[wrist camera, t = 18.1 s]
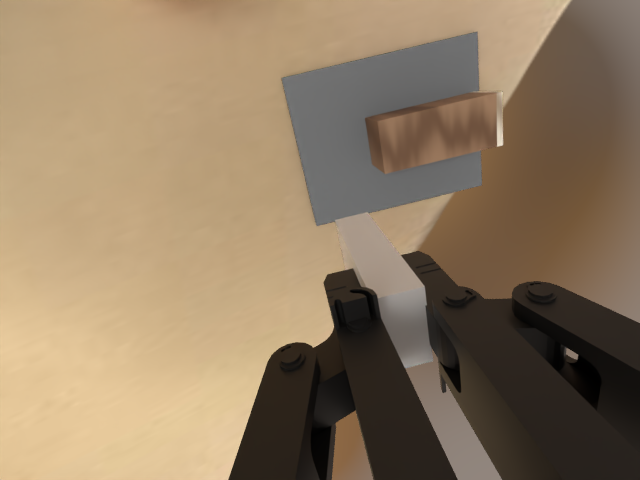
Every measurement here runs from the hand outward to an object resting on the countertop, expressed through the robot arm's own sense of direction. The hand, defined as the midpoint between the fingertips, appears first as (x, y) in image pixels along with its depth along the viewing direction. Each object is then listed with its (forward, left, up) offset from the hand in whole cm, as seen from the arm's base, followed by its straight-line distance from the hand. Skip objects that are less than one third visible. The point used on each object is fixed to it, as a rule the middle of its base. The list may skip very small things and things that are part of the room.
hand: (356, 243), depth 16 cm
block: (0, +6, -21) cm, 22 cm away
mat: (0, +9, -24) cm, 26 cm away
